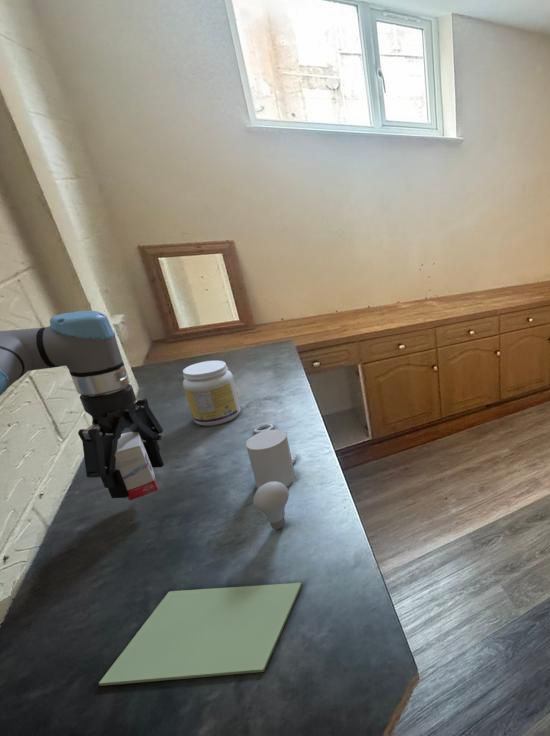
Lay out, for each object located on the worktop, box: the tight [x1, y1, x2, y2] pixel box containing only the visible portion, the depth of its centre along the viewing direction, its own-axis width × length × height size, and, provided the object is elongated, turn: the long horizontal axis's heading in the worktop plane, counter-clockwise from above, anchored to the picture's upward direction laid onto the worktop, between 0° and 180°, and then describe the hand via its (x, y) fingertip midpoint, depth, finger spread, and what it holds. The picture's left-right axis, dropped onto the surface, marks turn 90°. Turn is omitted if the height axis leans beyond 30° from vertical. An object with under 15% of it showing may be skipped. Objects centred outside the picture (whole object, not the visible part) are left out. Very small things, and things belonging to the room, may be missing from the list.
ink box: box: [115, 431, 159, 501], centre depth 85 cm, size 9×5×12 cm, turn 44°
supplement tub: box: [182, 360, 242, 427], centre depth 120 cm, size 12×12×17 cm
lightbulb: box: [253, 481, 290, 530], centre depth 81 cm, size 6×6×11 cm
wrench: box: [253, 423, 297, 464], centre depth 109 cm, size 25×2×5 cm
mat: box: [98, 582, 303, 687], centre depth 63 cm, size 22×14×1 cm, turn 95°
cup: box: [245, 429, 296, 490], centre depth 94 cm, size 8×8×12 cm
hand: (139, 480), depth 87 cm, fingers closed on ink box, 9 cm apart
